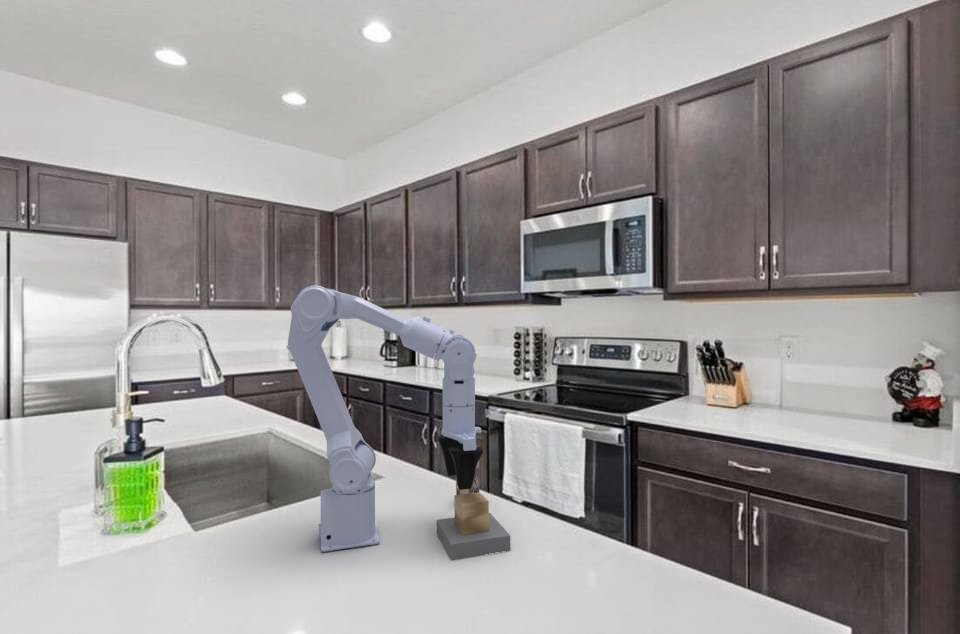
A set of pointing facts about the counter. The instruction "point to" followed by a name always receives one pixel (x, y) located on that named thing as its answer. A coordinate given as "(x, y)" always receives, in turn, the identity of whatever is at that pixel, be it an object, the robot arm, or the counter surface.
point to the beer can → (474, 485)
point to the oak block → (471, 513)
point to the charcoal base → (472, 539)
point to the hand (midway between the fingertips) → (458, 481)
